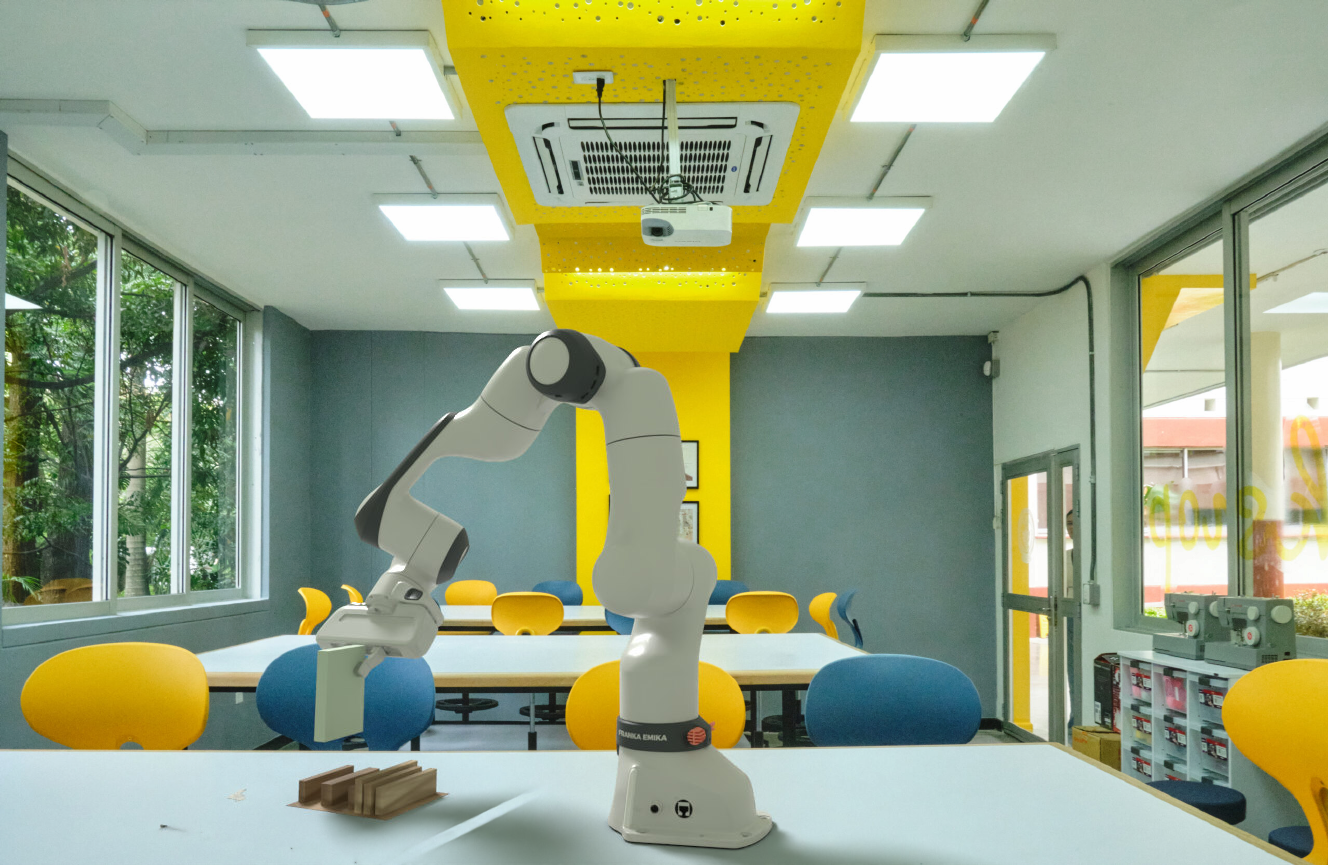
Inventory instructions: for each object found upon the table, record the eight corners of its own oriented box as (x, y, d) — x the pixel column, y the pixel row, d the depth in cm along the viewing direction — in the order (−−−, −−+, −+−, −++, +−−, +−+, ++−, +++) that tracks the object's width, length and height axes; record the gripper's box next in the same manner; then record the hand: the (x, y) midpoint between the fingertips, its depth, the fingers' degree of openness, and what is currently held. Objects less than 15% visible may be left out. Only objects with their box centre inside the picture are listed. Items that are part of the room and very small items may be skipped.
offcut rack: (449, 801, 137) (450, 762, 138) (385, 829, 124) (387, 785, 125) (354, 789, 144) (355, 751, 145) (285, 813, 131) (287, 772, 132)
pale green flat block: (362, 731, 141) (365, 645, 142) (324, 742, 134) (328, 651, 135) (352, 730, 142) (355, 644, 143) (314, 740, 134) (317, 650, 136)
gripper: (336, 590, 153) (288, 657, 143) (436, 593, 145) (393, 664, 135) (353, 615, 156) (308, 682, 146) (453, 619, 148) (412, 691, 138)
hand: (350, 674), depth 140 cm, fingers closed on pale green flat block, 2 cm apart
